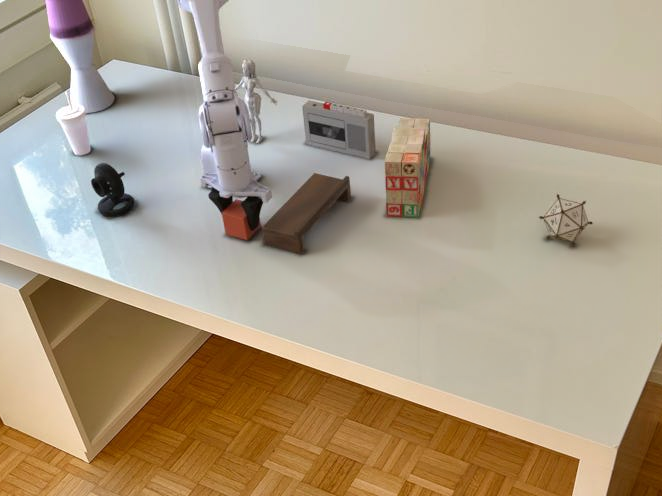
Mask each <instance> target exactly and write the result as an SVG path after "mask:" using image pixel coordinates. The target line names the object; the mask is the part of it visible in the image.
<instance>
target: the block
mask: <svg viewBox="0 0 662 496" xmlns="http://www.w3.org/2000/svg"><path fill="white" fill-rule="evenodd" d="M243 201H244V200H242V199H237V198H236V199H233V202H232V203H231V204H230V205H229V206H228V207H227V208H226V209H225V210H224V211H223V212H222V214H221V217H222V223H223V227H224V233H225V235H226V236H231V237H233V238H237V239H240V240H243V241H249V239H250V238H251V237H252V236H253V235H254V234H255V233H256V232H257V231H258V230H259V229H260V228H262V224H261V223H262V222H261V217H259V226H258V227H257V228H256V229H255V230H254V231H252V230H250V228H249V225H248V220H247V216H246V214H245V211H244V209H243V208H242V206H241V203H242V202H243Z"/></svg>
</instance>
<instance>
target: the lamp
mask: <svg viewBox="0 0 662 496" xmlns="http://www.w3.org/2000/svg"><path fill="white" fill-rule="evenodd" d="M45 5H46V13H47V19H48V27H49V37H50V39H51V41H52V42H53V43H54V45H55V46H56V48H57V49H58V51H59V52H60V54H61V56H63V57H64V60H65V61H66V62H67V64H68V65H69V67H70V95H69V97H70V100H71V104H72V105H81V106H83V107H84V108H85V111H86V114H91V113H92V114H93V113H97V112H100V111H103V110H105V109H107V108H109V107H110V106H112V104H113V103H114V101H115V96H114V94H113V92H112V91H111V89H110V88H109V87H108V85H107V83H106V82H105V80H104V79H103V77H102V75H101V74H100V72H99V71H98V69H97V68H96V65H94V51H95V35H96V33H95V32H96V27H95V25H94V24H93V22H92V20H91V17H90V15H89V12H88V10H87V7H86V5H85V3H84V1H83V0H45Z"/></svg>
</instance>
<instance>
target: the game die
mask: <svg viewBox="0 0 662 496" xmlns="http://www.w3.org/2000/svg"><path fill="white" fill-rule="evenodd" d="M556 198H557V199H556V200H555V202H554V203H553V204H552V206H551V207H550V208H549V209H548V210H547V211H546V213H545V214H544V216H543V215H540V216H538V219H539V220H543V222H544V225H545V228H546V230H547V233H548V235H547V236H546V240H550V238H554V240H557V239H558V240H562V241H566V242H569V243H571V245H572V246H573V247H575V246H576V243H575V241H576V240H577V239H578V237H579V236H580V235H581V233H582V232H583V231H584V230H586V227H587V226H588V225H593V224H594V222H593V221H589V219H588V216H587V212H586V209H585V207H584V205H585V204H587V200H583V201H582V203H581V202H577V201H573V200H569V199H565V198H561V197H560V194H559V193H556Z"/></svg>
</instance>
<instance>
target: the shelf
mask: <svg viewBox="0 0 662 496" xmlns="http://www.w3.org/2000/svg"><path fill="white" fill-rule="evenodd" d="M351 191H352V190H351V178H350V176H349V175H346V176H344V177H343V178H339V177H333V176H329V175H326V174H321V173H316V172H314V173H312V175H310V176H309V178H308V179H307V180H306V181H304V183H302V185H301V186H300V187H299V188H298V189H297V190H296V191H295V192H294V193H293V195H291V196H290V198H288V200H287V201H285V203H283V204H282V206H281V207H280V208H279V209H278V210H277V211H276V212H275V213H274V214H273V215H272V216H271V217H270V218H269V219H268V220H267V221H266V222H265V223H264V224H263V225H262V226H261V231H262V237H263V245H265V246H267V247H271V248H276V249H280V250H283V251H287V252H290V253H293V254H298V255H302V254H303V253H304V252H305V250H304V249H305V248H304V240H303V239H304V236H306V234H308V233H309V231H310V230H311V229H312V228H313V227H314V226H315V225H316V224H317V222H319V220H320V219H321V218H322V217H323V216H324V215H325V214H326V213H327V211H329V210H330V208H331V207H332V206H333V205H334V204H335V202H337V200H340V201H346V202H349V201H350V200H351V199H352V195H351V194H352V193H351Z"/></svg>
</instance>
